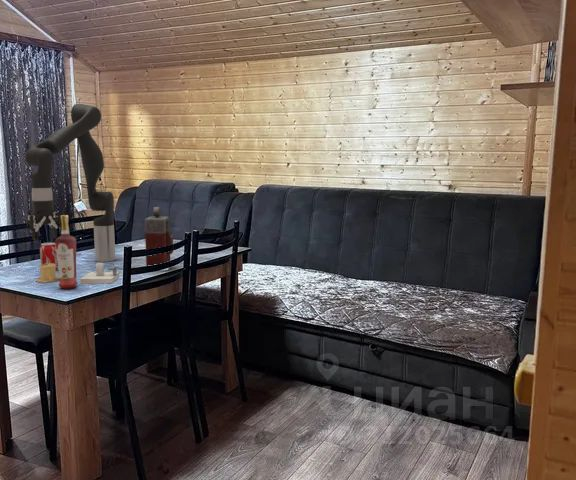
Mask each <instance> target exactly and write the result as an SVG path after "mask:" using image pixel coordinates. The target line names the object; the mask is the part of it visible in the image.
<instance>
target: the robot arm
mask: <svg viewBox="0 0 576 480" xmlns="http://www.w3.org/2000/svg"><path fill="white" fill-rule="evenodd" d="M101 112H102V111H101V110H100V109H99V108H98V107H96V106H94V105H90V104H82V103H75V104H74V105H73V106H72V107H71V111H70V118H71V122H72V123H71V124H68V125H67V126H63V127H62V128H61V127H60V128H59V129H57V130H55V131H54V132H52V134H50V135H49V136H47V137H46V139H44V140H42V141H40V142H38V143H37V144H35V145H33V146H31V147H30V148H29V149H28V150H27V151H26V153H25V156H24V157H25V161H26V163H27V164H28V165H30V166H33V167H37V171H36V172H33V173H32V174H31V175H30V176H31V177H30V178H31V179H30V181H31V203H32V211H33V215H29V214H27V215H26V230H27V231H31V238H32V240H33V241H34V242H39V241H40V240H39V239H40V238H39V229H40V228H41V227H42V226H45V225H49V226H50V233H51V234H50V235H51V238H52V239H57V238H58V228H59V227H61V228H62V223H61V212H58V211H54V210H55V209H54V196H53V195H54V194H53V188H52V174H53V170H54V169H53V168H54V164H55V158H54V155H57V154H59V153H61V151H63V150H64V149H65V148H67V146H69V144H71V143H72V142H73V141H75V140H76V139H77V143H78V147H79V152H80V159H81V165H82V168H83V171H84V172H83V173H84V176H85V182H86V183H85V184H86V190H87V199H88V206H89V208H90V210H92V211H94V212H104V215H102V216H100V217H96V218H94V219H93V221H92V222H93V238H94V260H95V262H97V263H105V262H113V261H115V260H116V243H115V241H116V240H115V216H114V215H115V213H114V212H115V211H114V209H115V206H114V205H115V203H114V202H115V201H114V200H115V198H114V194H113V192H111V191H97V189H96V188H97V183H98V180H99V179H100V177H101V175H102V174H103V171H104V169H105V161H104V156H103V152H102V150H101V148H100V146H99V145H98V144H97V142H96V141H95V140H94V138H93V137H92V135H91V133H90V131H91V130H93V129H94V128H96V127H97V126H98V125H99V124H100V122H101V120H102V113H101Z"/></svg>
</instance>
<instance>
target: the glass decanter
mask: <svg viewBox="0 0 576 480" xmlns="http://www.w3.org/2000/svg"><path fill="white" fill-rule="evenodd" d="M152 212H153V216H148V217H146V218H144V235H145V236H144V237H145V250H146V249H154V248H159V247H165V246H169V245H172V244H173V245H174V235H173V233H172V230H170V217H169V216H165V215H164V216H163V215H162V216H161V208H160V206H154V207H153V211H152ZM173 253H174V249H173V250H172V251H169V252H165V253H161V254H156V255H152V256H146V255H145V262H146V263H145V266H148V265H154V264H160V263H164V262H167V261H170V262H171V255H172V254H173Z"/></svg>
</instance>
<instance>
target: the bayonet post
mask: <svg viewBox="0 0 576 480" xmlns="http://www.w3.org/2000/svg"><path fill="white" fill-rule="evenodd" d="M104 263H105V262H96V263H95V272H93V271H91V272H88V273H86V274H85V275H84V276H82V277H81V278H80V279H79V280H80V285H89V284H90V285H92V284H93V285H94V284H95V285H102V284H101V283H112V284H113V283H114V282H115V281H116V280H118V279H119V278H120V272H119V271H117V267H112V266H111V267H107V271H105V268H104V267H105V266H104Z"/></svg>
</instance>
